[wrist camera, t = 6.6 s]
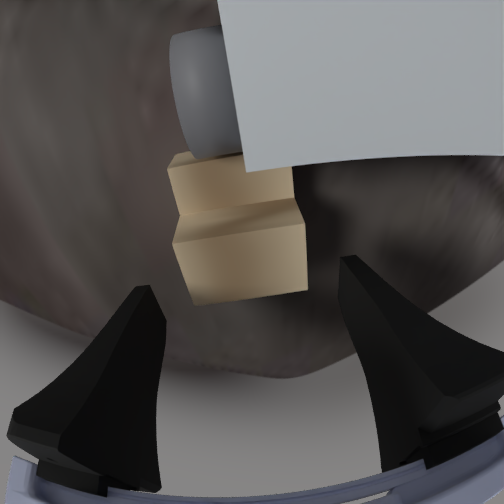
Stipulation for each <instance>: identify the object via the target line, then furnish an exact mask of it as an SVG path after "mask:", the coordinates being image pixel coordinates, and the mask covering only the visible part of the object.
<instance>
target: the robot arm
mask: <svg viewBox="0 0 504 504" xmlns="http://www.w3.org/2000/svg"><path fill="white" fill-rule="evenodd" d="M338 299H339V303H340V307H341V311H342V314H343V318H344V321H345V324H346V326H347V329H348V331H349V334H350V336H351V339H352V341H353V344H354V346H355V349H356V351H357V354H358V356H359V359H360V361H361V364H362V367H363V370H364V373H365V376H366V380H367V384H368V389H369V392H370V397H371V402H372V406H373V411H374V416H375V422H376V428H377V434H378V441H379V450H380V458H381V469H382V473H380V474H377V475H373V476H370V477H366V478H362V479H359V480H355V481H351V482H346V483H342V484H338V485H333V486H328V487H323V488H317V489H312V490H306V491H299V492H292V493H284V494H276V495H264V496H250V497H221V498H220V497H183V496H169V495H159V494H150V493H142V492H135V491H143V492H144V491H145V492H152V493H156V492H158V491H159V490H160V489H161V488H162V486H161V480H160V472H159V465H158V454H157V441H156V403H157V392H158V386H159V379H160V373H161V368H162V361H163V356H164V350H165V344H166V322H167V320H166V318H165V316H164V314H163V312H162V310H161V308H160V306H159V304H158V302H157V300H156V298H155V295H154V293H153V291H152V289H151V287H150V285H144V286H136V287H135V288H134V289H133V290H132V291H131V293H130V294H129V295H128V297H127V298H126V299H125V300H124V302H123V303H122V304H121V306H120V307H119V308H118V310H117V311H116V312H115V314H114V315H113V316H112V317H111V319H110V320H109V321H108V323H107V324H106V325H105V327H104V328H103V329H102V330H101V331H100V333H99V334H98V335H97V336H96V338H95V339H94V340H93V341H92V343H91V344H90V345H89V346H88V347H87V348H86V349H85V351H84V352H83V353H82V354H81V355H80V356H79V357H78V358H77V359H76V360H75V361H74V362H73V363H72V364H71V365H70V366H69V367H68V368H67V369H66V370H65V371H64V372H63V373H62V374H60V375H59V376H58V377H57V378H56V379H55V380H54V381H53V382H51V383H50V384H49V385H48V386H46V387H45V388H44V389H43V390H42V391H40V392H39V393H37V394H36V395H34V396H33V397H32V398H30V399H29V400H27V401H25V402H24V403H22V404H21V405H20V406H18V407H16V408H15V409H14V411H13V414H12V418H11V421H10V424H9V428H8V432H7V438H8V439H9V440H10V441H11V442H12V443H14V444H15V445H17V446H18V447H19V448H21V449H23V450H24V451H26V452H27V453H29V454H31V455H32V456H34V457H36V458H38V459H39V462H38V465H37V464H35V463H32V462H30V461H28V460H25V459H22V458H20V457H17V456H13V459H12V464H11V468H10V473H9V479H8V484H7V490H6V497H5V504H341V503H345V502H350V501H353V500H358V499H361V498H365V497H368V496H372V495H375V494H379V493H382V492H386V491H389V490H390V491H389V492H388V493H387V495H386V496H384V497H381V498H378V499H375V500H372V501H368V502H365V503H362V504H484V503H485V502H487V501H488V500H490V499H491V498H493V497H494V496H495V495H497V494H498V493H499V492H501V491H502V490H503V489H504V415H503V416H502V417H501V418H500V417H499V415H498V413H497V412H498V411H499V410H500V408H501V407H500V404H499V402H498V400H499V399H500V398H501V397H502V396H503V395H504V352H502V351H500V350H497V349H494V348H491V347H489V346H486V345H484V344H481V343H479V342H477V341H475V340H472V339H470V338H468V337H466V336H464V335H462V334H460V333H458V332H456V331H455V330H453V329H451V328H449V327H447V326H446V325H444V324H442V323H440V322H439V321H437V320H435V319H434V318H433V317H431V316H430V315H428V314H427V313H425V312H424V311H422V310H421V309H419V308H418V307H416V306H415V305H414V304H412V303H411V302H410V301H409V300H407V299H406V298H405V297H403V296H402V295H401V294H400V293H398V292H397V291H396V290H395V289H394V288H392V287H391V286H390V285H389V284H388V283H387V282H385V281H384V280H383V279H382V278H381V277H380V276H379V275H378V274H377V273H375V272H374V271H373V270H372V269H371V268H370V267H369V266H368V265H367V264H365V263H364V262H363V261H362V260H361V259H360V258H359V257H358V256H356V255H351V256H345V257H340V273H339V289H338ZM130 490H133V491H130Z"/></svg>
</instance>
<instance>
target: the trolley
mask: <svg viewBox="0 0 504 504" xmlns="http://www.w3.org/2000/svg"><path fill="white" fill-rule="evenodd" d="M217 1H218V7H219V12H220V18H221V24H222V25H218V26H212V27H207V28H202V29H197V30H192V31H187V32H183V33H179V34H175V35H173V36H172V38H171V41H170V53H169V58H170V72H171V81H172V87H173V93H174V99H175V104H176V108H177V112H178V116H179V120H180V124H181V127H182V131H183V134H184V137H185V140H186V142H187V145H188V147H189V149H190V151H191V153H192V155H193V156H194V158H195V159H203V158H208V157H214V156H219V155H225V154H231V153H237V152H243V155H244V162H245V168H246V173H247V172H253V171H260V170H267V169H274V168H282V167H290V166H298V165H306V164H315V163H324V162H334V161H345V160H357V159H370V158H385V157H403V156H429V155H495V156H504V0H217Z"/></svg>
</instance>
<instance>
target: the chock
mask: <svg viewBox="0 0 504 504" xmlns="http://www.w3.org/2000/svg"><path fill="white" fill-rule="evenodd" d="M167 170H168V174H169V178H170V181H171V185H172V188H173V192H174V196H175V199H176V203H177V206H178V210H179V213H180V218H179V221H178V225H177V228H176V232H175V235H174V239H173V242H172V245H173V248H174V251H175V254H176V257H177V260H178V262H179V265H180V268H181V271H182V274H183V276H184V279H185V282H186V285H187V287H188V290H189V293H190V295H191V298H192V301H193V303H194V306H197V305H205V304H213V303H221V302H229V301H236V300H243V299H250V298H257V297H264V296H271V295H278V294H284V293H291V292H297V291H303V290H308V280H307V253H306V232H305V222H304V220H303V217H302V215H301V212H300V210H299V208H298V205H297V203H296V200H295V198H294V188H293V177H292V166H290V167H282V168H274V169H267V170H260V171H253V172H247V173H246V168H245V162H244V155H243V152H237V153H231V154H225V155H219V156H214V157H208V158H203V159H195V158H194V156H193V155H192V153H191V151H189V152H184V153H179V154H176V155H175V156H174V158H173V160H172V161H171V163H170V165H169V167H168V168H167Z"/></svg>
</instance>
